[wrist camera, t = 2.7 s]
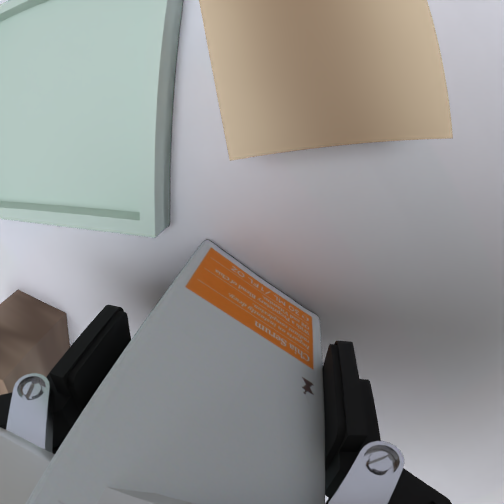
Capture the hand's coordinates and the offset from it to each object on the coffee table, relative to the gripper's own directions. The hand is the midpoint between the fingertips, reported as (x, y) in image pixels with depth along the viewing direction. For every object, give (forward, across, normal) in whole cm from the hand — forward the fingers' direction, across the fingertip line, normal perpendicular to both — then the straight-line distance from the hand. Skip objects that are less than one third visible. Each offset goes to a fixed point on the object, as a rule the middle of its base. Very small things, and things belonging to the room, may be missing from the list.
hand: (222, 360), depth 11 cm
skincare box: (+4, 0, 0) cm, 4 cm away
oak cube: (+3, -2, -10) cm, 11 cm away
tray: (+3, +8, -9) cm, 13 cm away
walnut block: (+3, +12, +4) cm, 13 cm away
